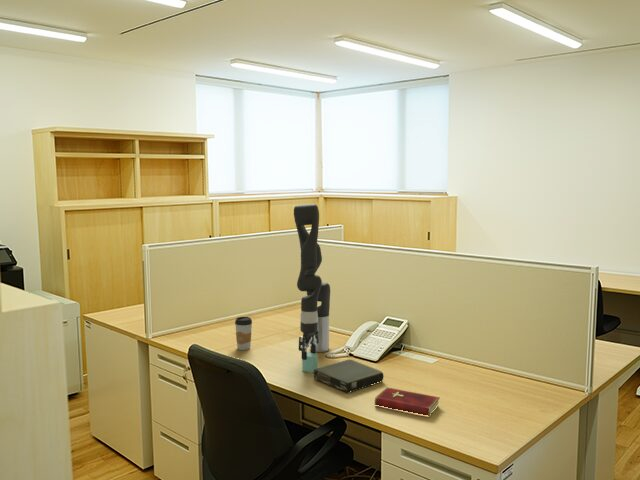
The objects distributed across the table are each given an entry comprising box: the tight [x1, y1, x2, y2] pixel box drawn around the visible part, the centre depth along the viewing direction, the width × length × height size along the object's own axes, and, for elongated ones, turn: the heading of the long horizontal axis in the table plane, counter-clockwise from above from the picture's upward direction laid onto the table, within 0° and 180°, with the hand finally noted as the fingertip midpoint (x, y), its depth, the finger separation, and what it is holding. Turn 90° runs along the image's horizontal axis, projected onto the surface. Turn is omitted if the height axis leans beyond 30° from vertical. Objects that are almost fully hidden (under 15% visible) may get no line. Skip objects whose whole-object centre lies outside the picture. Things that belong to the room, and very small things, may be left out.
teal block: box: [301, 351, 319, 373], centre depth 252 cm, size 5×5×7 cm
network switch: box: [313, 359, 384, 393], centre depth 240 cm, size 23×24×5 cm
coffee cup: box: [234, 316, 253, 351], centre depth 282 cm, size 8×8×15 cm
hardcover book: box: [374, 387, 441, 417], centre depth 214 cm, size 12×21×4 cm, turn 62°
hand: (308, 356), depth 252 cm, fingers open, 8 cm apart
